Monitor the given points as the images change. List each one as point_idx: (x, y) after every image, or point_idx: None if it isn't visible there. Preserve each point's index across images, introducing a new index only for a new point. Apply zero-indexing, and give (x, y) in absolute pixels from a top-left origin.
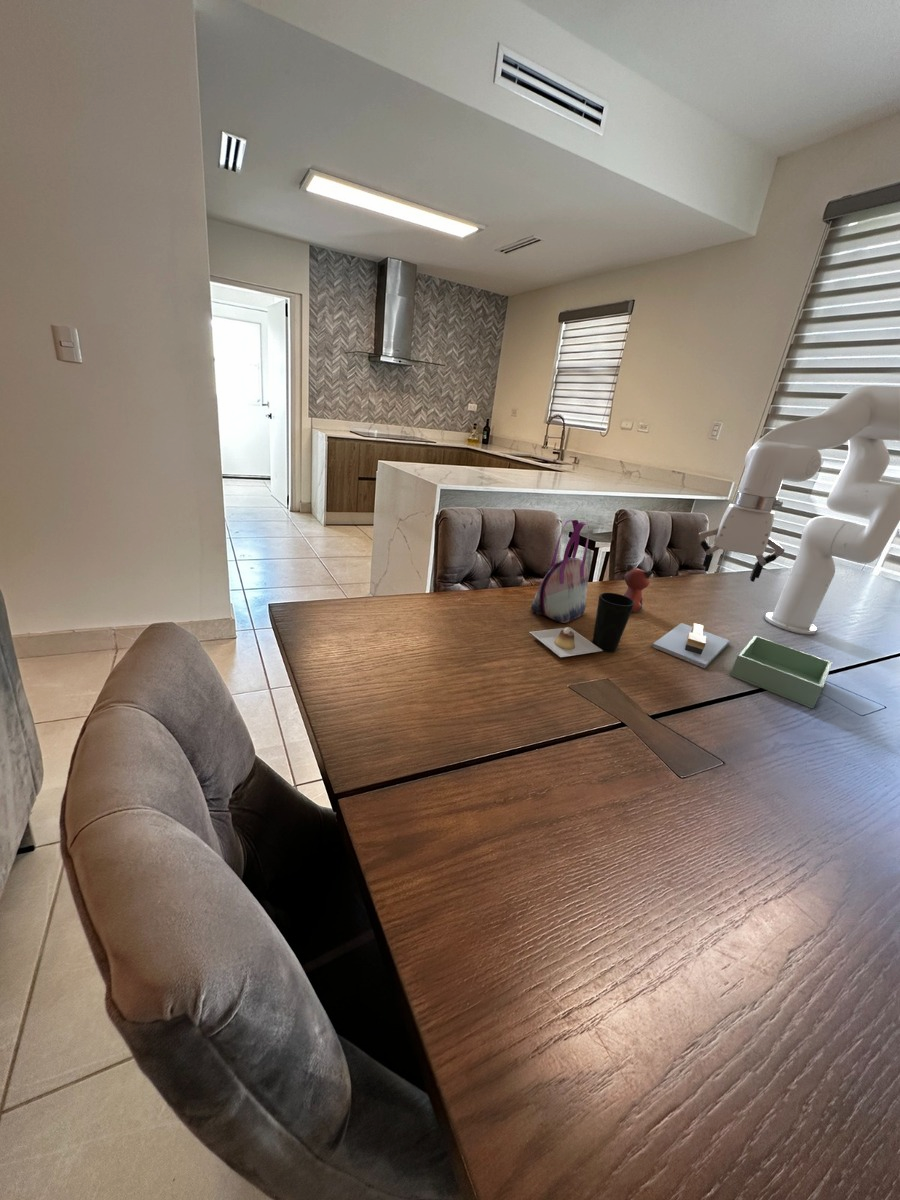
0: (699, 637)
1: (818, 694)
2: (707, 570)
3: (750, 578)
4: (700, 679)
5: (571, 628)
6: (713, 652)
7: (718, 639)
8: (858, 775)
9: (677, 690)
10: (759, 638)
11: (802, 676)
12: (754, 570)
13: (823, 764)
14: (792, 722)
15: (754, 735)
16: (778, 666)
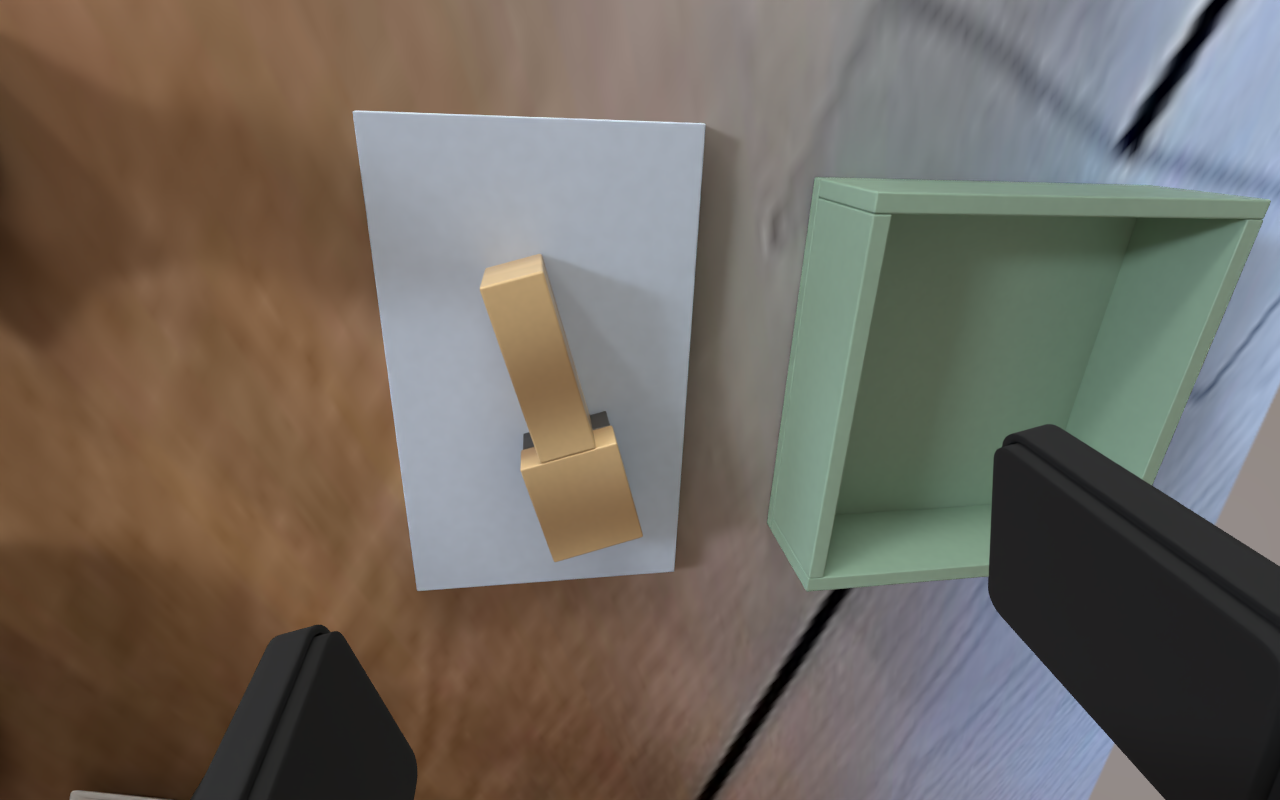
0: (593, 495)
1: None
2: (407, 779)
3: (998, 535)
4: (681, 648)
5: (90, 793)
6: (669, 416)
7: (646, 187)
8: (1073, 724)
9: (642, 766)
10: (902, 212)
11: (1063, 257)
12: (1125, 751)
13: (1006, 749)
14: (962, 641)
15: (863, 777)
16: (965, 243)
